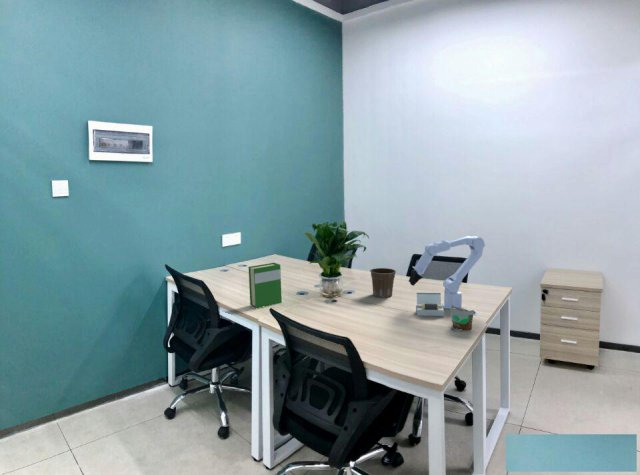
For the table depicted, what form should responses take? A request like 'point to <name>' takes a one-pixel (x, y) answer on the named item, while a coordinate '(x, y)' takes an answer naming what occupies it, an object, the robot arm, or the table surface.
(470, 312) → the food container
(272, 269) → the hardback book
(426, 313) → the grey slotted block
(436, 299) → the cover
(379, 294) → the plant pot
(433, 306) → the banded gray rod
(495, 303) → the table surface
